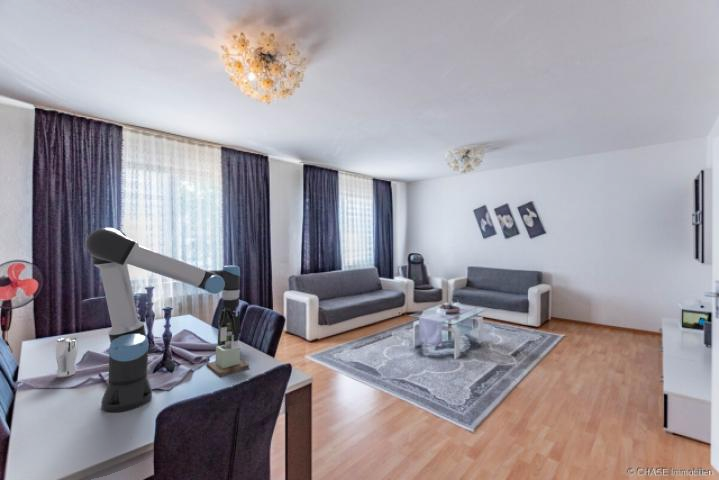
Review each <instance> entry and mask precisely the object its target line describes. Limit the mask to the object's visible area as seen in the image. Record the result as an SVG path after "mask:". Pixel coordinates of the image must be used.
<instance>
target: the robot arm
mask: <svg viewBox="0 0 719 480" xmlns="http://www.w3.org/2000/svg"><path fill="white" fill-rule="evenodd" d="M85 248H86V250H87V252H88V253H89V254H90V255H91V259H92V263H93V264H92V265H93V266H94V267H97V268H99V271H100V277H101V280H102V284H103V285H102V286H103V290H104V293H105V294H104V295H105V299H106V304H107V309H108V313H109V318H110V322H111V328H110V330H109V331H108V337H109V342H110V344H109V349H108V355H109V356H108V381H107V382H108V385H107V387H106V389H105V391H104V394H103V396H102V399H101V402H100V403H101V405H100V406H101V410H102V411H104V412H106V413H121V412H126V411H131V410H134V409H137V408H140V407H141V406H143V405H145V404H146V403H147V404H148V402H150V401H151V399H152V395H153V389H152V387H151V384H150V382H149V381H150V380H149V379H148V361H149V360H148V359H149V346H150V343H149V339H148V335H147V333H146V329H145V323H144V322H142V321H140V320H139V318H138V312H137V307H136V302H135V297H134V293H133V292H134V291H133V287H132V283H131V278H130V272H129V268H128V265H130V266H134V267H136V268H139V269H142V270H145V271H148V272H149V273H150V272H151V273H154V274H157V275H160V276H163V277H166V278H169V279H171V280H174V281H178V282H181V283H184V284H186V285H189V286H193V287H195V288H198V289H201V290H203V291H206V292H207V293H210V294H213V295H216V294H219V293H221V298H222V300H221V310H220V314H219V316H220V319H219V318H218V319H219V325H220V327H221V334H220V341H226V338H227V327H225V326H227V322H228V320H229V321H230V323H231V327H232V332H233V333H232V342H231V348H236V347H238V346H239V345H238V344H239V334H241V333H242V329H241V320H240V311H238V310H237V309H236V308H238V307H239V305H240V299H239V298H240V293H241V290H240V285H241V283H240V282H241V280H240V279H241V268H240V266H238V265H231V264H230V265H223V267H222V269H221V270H218V269H217V270H205V269H202V268H200V267H197V266H194V265H192V264H189V263H186V262H184V261H181V260H179V259H176V258H174V257H171V256H168V255H166V254H163V253H160V252H158V251H156V250H152V249H149V248H147V247H145V246H142V245H140V244H139V243H138V241H136V240H134V239H131V238H130V237H127V235H126V234H125V232H123V231H122V230H121V229H118V228H115V227H103V228H102V227H101V228H99V229H95V230H94V231H92V232H91V233H90V234H89V235H88V236H87V238H86V240H85Z"/></svg>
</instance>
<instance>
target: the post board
mask: <svg viewBox="0 0 719 480" xmlns="http://www.w3.org/2000/svg"><path fill="white" fill-rule="evenodd" d="M231 342H232V341H227V342H225V349H230V348H231ZM215 361H216V360H215ZM215 361H211V362H207V363H206V368H208V369H209V370H210V371H212V373H214V374H215V375H216V376H218V377H219V378H220V377H224V376H226V375H230V374H232V373H236V372H240V371H242V370H244V371H245V370H246V369H249V368H250V365H249V364H248V363H247V362H246V361H243V360H242V359H241V358H240V364H237V365H234V366H230V367H227V368H221V367H220V366H218V365H217V364H215Z"/></svg>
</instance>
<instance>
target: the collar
mask: <svg viewBox="0 0 719 480" xmlns="http://www.w3.org/2000/svg"><path fill="white" fill-rule="evenodd" d="M240 355H241V347H240V346H239V345H238V347H236V348H230V349H225V345H222V346H218V345H217V346H215V364H217V365H218V366H220V367H221V368H227V367H230V366H234V365H237V364H240V359H241V356H240Z"/></svg>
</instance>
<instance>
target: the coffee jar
mask: <svg viewBox="0 0 719 480" xmlns="http://www.w3.org/2000/svg"><path fill="white" fill-rule="evenodd" d="M219 319H220V315H218V324H217V325H218V326H217V327H218V328H217V346H218V345H219V346H222V345H225V342H227V341H232V333H233V332H232V327H231V323H230V321H229V320H228V322H227V326H225V327H227V338H226V341H220V334H221V327H220V325H219Z"/></svg>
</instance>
